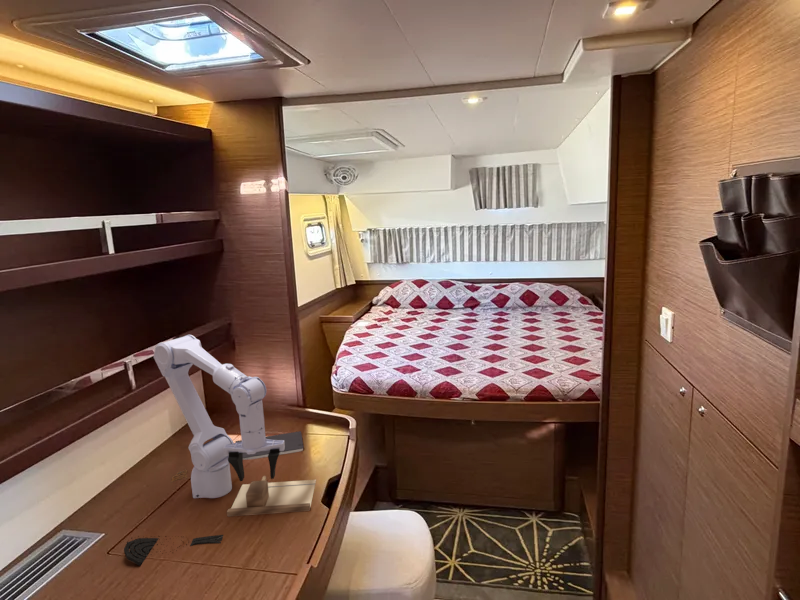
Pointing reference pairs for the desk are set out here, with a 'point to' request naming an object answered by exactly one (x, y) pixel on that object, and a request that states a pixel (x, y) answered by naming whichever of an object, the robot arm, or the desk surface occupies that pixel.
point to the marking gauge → (257, 493)
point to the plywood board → (277, 498)
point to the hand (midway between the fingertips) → (257, 477)
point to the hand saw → (179, 475)
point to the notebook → (291, 445)
